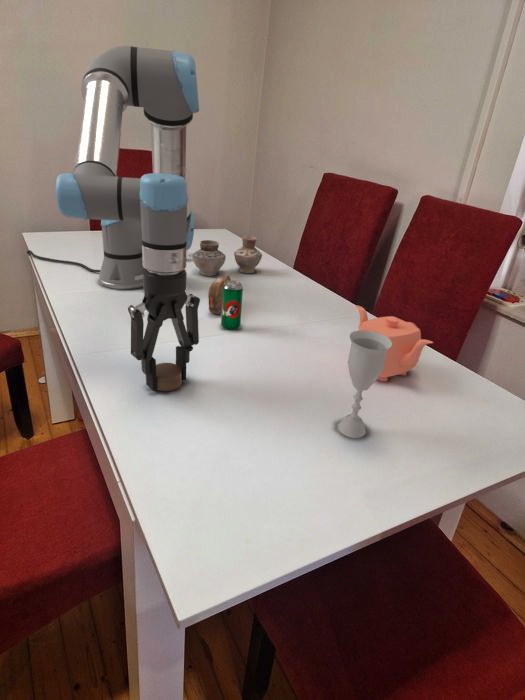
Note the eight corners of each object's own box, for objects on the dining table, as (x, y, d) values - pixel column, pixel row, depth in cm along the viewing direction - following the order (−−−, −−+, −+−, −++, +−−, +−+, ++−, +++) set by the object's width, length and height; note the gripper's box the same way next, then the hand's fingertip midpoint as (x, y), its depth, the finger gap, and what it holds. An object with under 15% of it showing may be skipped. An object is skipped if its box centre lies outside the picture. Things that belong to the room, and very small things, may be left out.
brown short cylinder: (145, 380, 90) (144, 367, 89) (171, 372, 94) (171, 359, 92) (160, 394, 86) (160, 381, 85) (187, 385, 90) (187, 372, 88)
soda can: (244, 327, 118) (247, 283, 112) (230, 332, 114) (232, 287, 109) (231, 321, 120) (233, 278, 115) (216, 326, 117) (218, 281, 112)
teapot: (419, 392, 95) (434, 338, 90) (340, 376, 99) (350, 323, 93) (416, 361, 108) (430, 313, 103) (347, 348, 112) (356, 300, 106)
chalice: (328, 416, 85) (344, 329, 76) (364, 417, 85) (383, 331, 77) (338, 441, 78) (356, 349, 70) (375, 442, 79) (398, 350, 71)
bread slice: (217, 318, 121) (218, 288, 118) (205, 316, 122) (206, 287, 118) (231, 300, 135) (233, 272, 131) (221, 298, 135) (222, 271, 131)
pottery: (266, 275, 159) (269, 241, 154) (198, 279, 149) (198, 243, 143) (252, 265, 168) (255, 233, 163) (187, 269, 158) (188, 235, 152)
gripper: (123, 283, 71) (130, 406, 81) (221, 268, 82) (216, 377, 93) (103, 270, 76) (112, 387, 86) (198, 257, 87) (196, 362, 98)
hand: (166, 381), depth 90 cm, fingers closed on brown short cylinder, 6 cm apart
